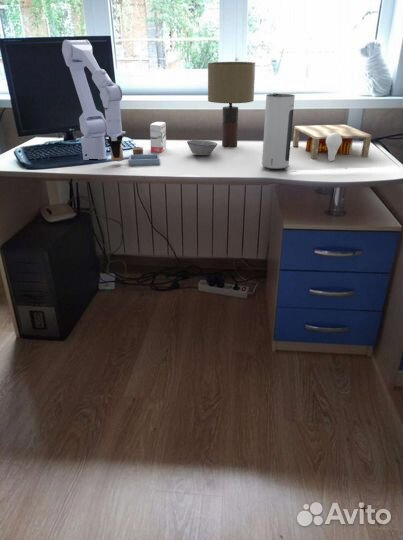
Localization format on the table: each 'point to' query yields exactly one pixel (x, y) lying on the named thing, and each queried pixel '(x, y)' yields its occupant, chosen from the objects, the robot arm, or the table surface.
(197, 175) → the table surface
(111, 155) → the wooden cylinder
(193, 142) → the bowl
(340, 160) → the table surface
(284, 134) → the speaker
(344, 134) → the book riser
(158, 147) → the ink box
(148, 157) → the tray
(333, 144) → the lightbulb
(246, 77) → the lamp
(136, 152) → the block
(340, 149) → the book
